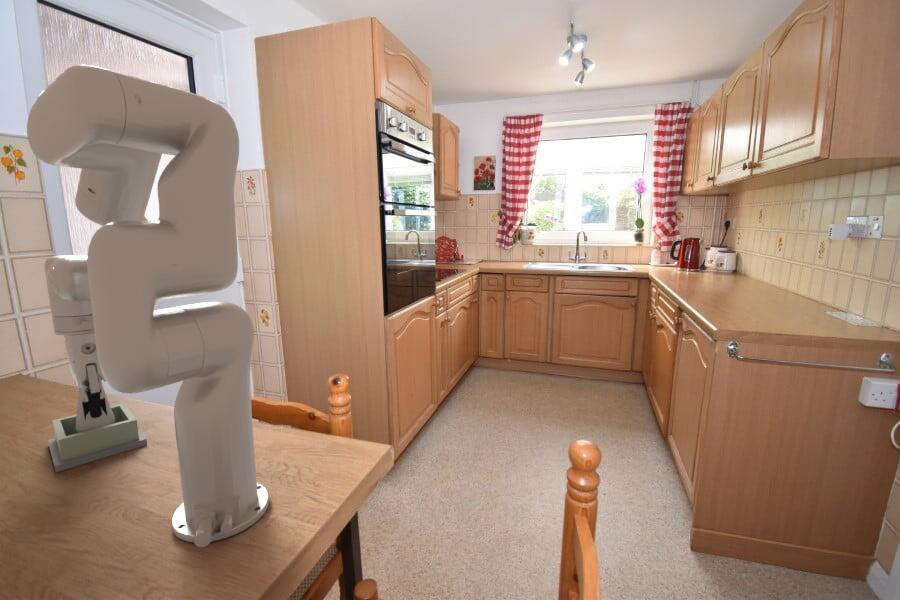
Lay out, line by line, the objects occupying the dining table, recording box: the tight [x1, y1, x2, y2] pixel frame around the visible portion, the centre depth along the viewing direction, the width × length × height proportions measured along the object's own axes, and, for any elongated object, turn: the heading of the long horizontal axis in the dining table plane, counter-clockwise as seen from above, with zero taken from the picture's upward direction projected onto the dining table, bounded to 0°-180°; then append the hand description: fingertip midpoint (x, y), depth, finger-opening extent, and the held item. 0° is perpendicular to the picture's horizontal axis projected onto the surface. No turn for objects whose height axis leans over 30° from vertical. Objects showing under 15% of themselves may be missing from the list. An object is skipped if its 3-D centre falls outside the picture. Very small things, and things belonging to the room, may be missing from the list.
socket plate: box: [47, 402, 148, 473], centre depth 80 cm, size 13×13×5 cm
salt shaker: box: [73, 372, 115, 433], centre depth 79 cm, size 6×6×13 cm
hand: (94, 416), depth 79 cm, fingers closed on salt shaker, 3 cm apart
